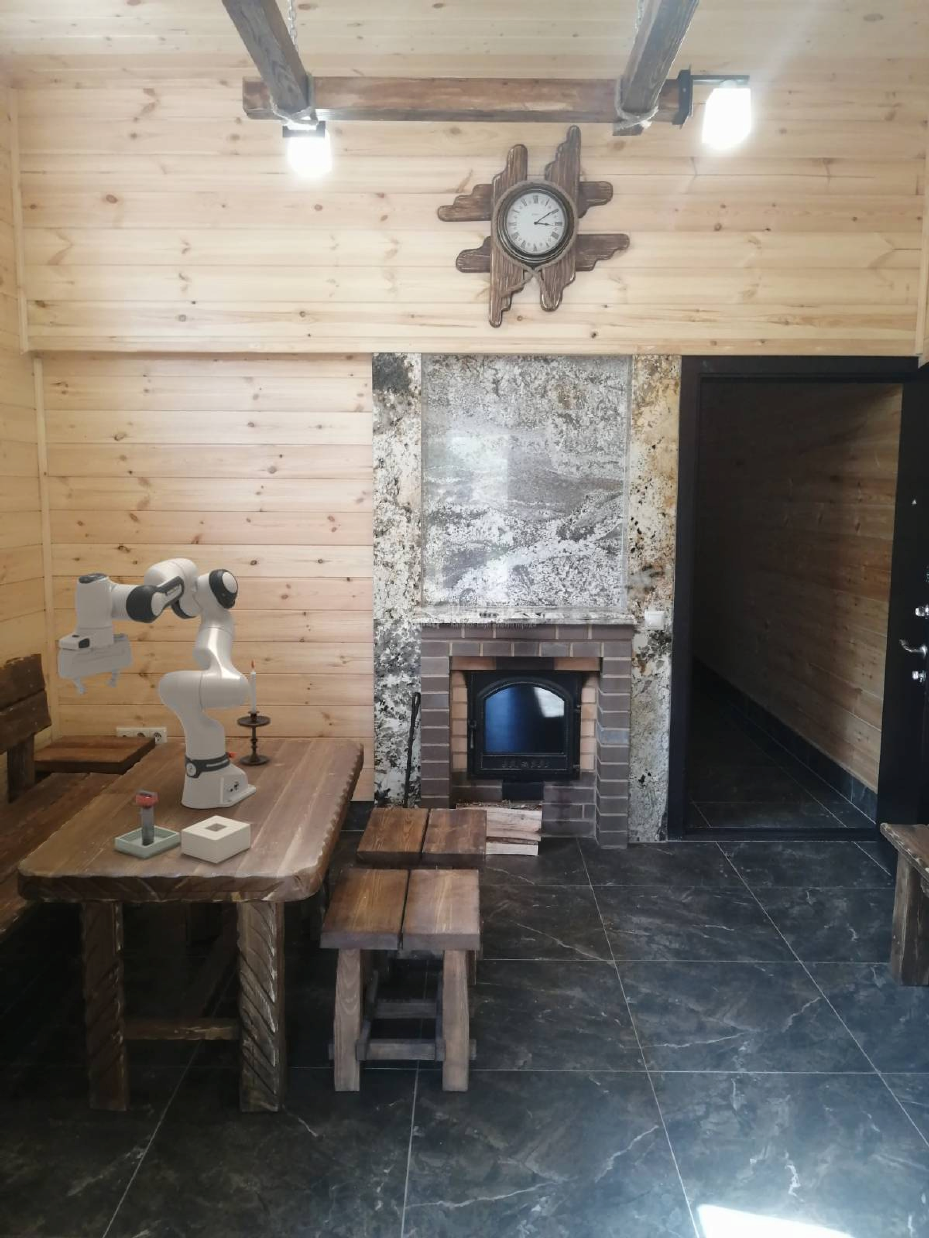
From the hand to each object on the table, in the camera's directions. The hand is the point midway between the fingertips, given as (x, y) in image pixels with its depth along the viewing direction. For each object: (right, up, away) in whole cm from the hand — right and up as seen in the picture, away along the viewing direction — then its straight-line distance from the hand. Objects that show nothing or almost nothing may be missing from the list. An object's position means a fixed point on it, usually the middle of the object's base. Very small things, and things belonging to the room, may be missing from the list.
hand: (97, 689), depth 230 cm
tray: (+14, -40, -2) cm, 43 cm away
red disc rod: (+14, -39, -2) cm, 42 cm away
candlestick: (+25, -30, +68) cm, 78 cm away
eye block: (+32, -41, -3) cm, 52 cm away
